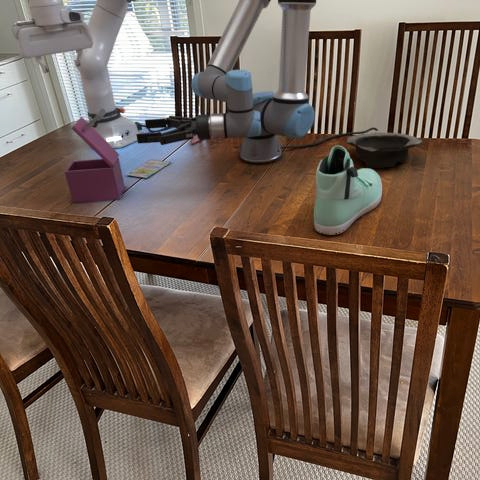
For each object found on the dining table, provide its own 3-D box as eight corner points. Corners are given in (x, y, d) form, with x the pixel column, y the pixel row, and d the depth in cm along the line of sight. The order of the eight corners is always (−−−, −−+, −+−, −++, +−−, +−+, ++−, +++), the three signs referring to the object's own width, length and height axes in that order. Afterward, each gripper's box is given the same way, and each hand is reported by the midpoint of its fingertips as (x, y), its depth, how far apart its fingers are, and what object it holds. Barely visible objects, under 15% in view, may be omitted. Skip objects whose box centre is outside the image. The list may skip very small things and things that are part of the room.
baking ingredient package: (126, 174, 170) (150, 159, 182) (126, 175, 171) (151, 160, 182) (146, 177, 167) (170, 162, 178) (146, 178, 167) (170, 163, 179)
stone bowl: (379, 179, 153) (379, 151, 149) (331, 161, 173) (330, 135, 169) (436, 160, 162) (438, 133, 158) (384, 144, 182) (385, 120, 178)
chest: (73, 202, 155) (64, 171, 150) (80, 190, 163) (72, 160, 157) (119, 199, 155) (112, 168, 149) (125, 187, 163) (118, 157, 157)
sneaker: (389, 187, 148) (396, 123, 138) (356, 242, 123) (361, 168, 112) (346, 181, 154) (350, 119, 144) (306, 232, 129) (307, 161, 118)
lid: (71, 128, 143) (91, 109, 140) (79, 119, 150) (98, 101, 147) (111, 167, 149) (131, 150, 146) (116, 156, 157) (136, 140, 154)
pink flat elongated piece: (182, 143, 196) (181, 139, 196) (204, 131, 207) (204, 128, 206) (193, 145, 193) (192, 141, 193) (215, 133, 203) (215, 130, 203)
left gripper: (12, 23, 124) (28, 77, 131) (89, 12, 133) (100, 64, 140) (7, 21, 128) (23, 74, 136) (81, 11, 138) (92, 62, 145)
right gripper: (208, 153, 138) (135, 157, 139) (213, 125, 159) (150, 129, 160) (206, 128, 134) (131, 132, 135) (211, 103, 155) (146, 107, 156)
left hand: (62, 69), depth 138 cm, fingers open, 8 cm apart
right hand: (141, 131), depth 147 cm, fingers open, 13 cm apart
